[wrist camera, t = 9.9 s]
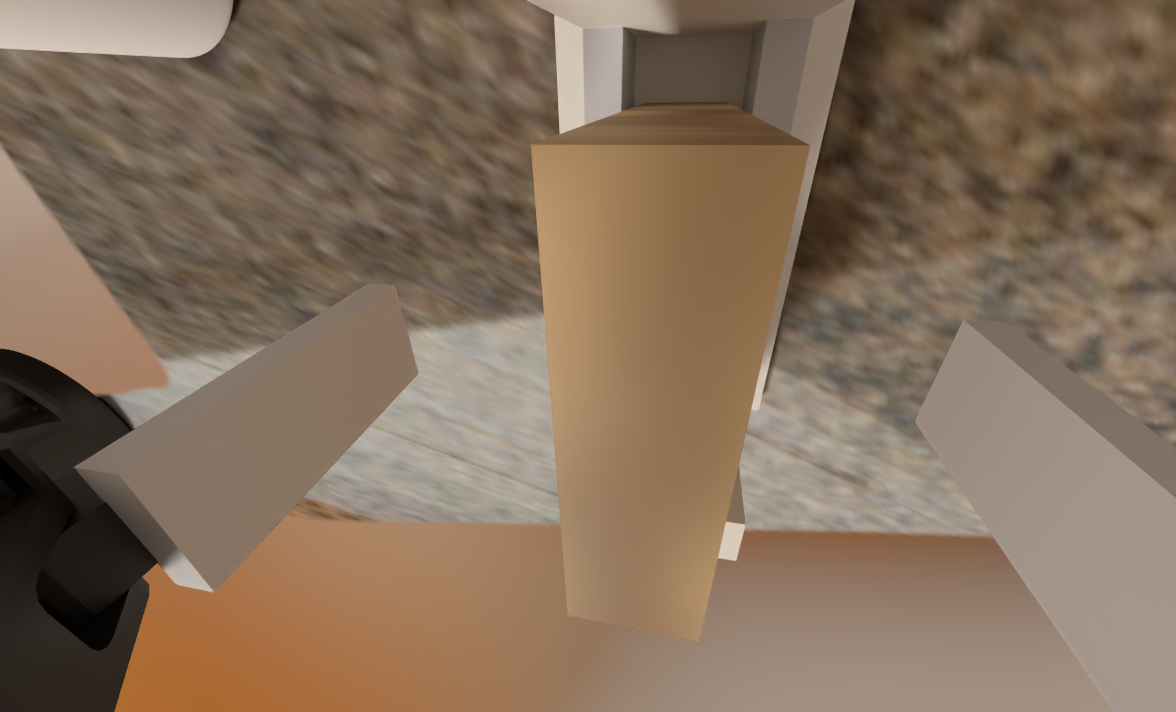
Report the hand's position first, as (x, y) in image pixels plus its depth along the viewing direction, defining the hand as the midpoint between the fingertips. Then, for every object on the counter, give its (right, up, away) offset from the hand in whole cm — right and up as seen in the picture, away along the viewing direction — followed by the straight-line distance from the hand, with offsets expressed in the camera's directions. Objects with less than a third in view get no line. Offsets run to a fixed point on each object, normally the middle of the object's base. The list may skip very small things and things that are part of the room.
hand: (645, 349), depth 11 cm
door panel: (+2, +5, +8) cm, 10 cm away
